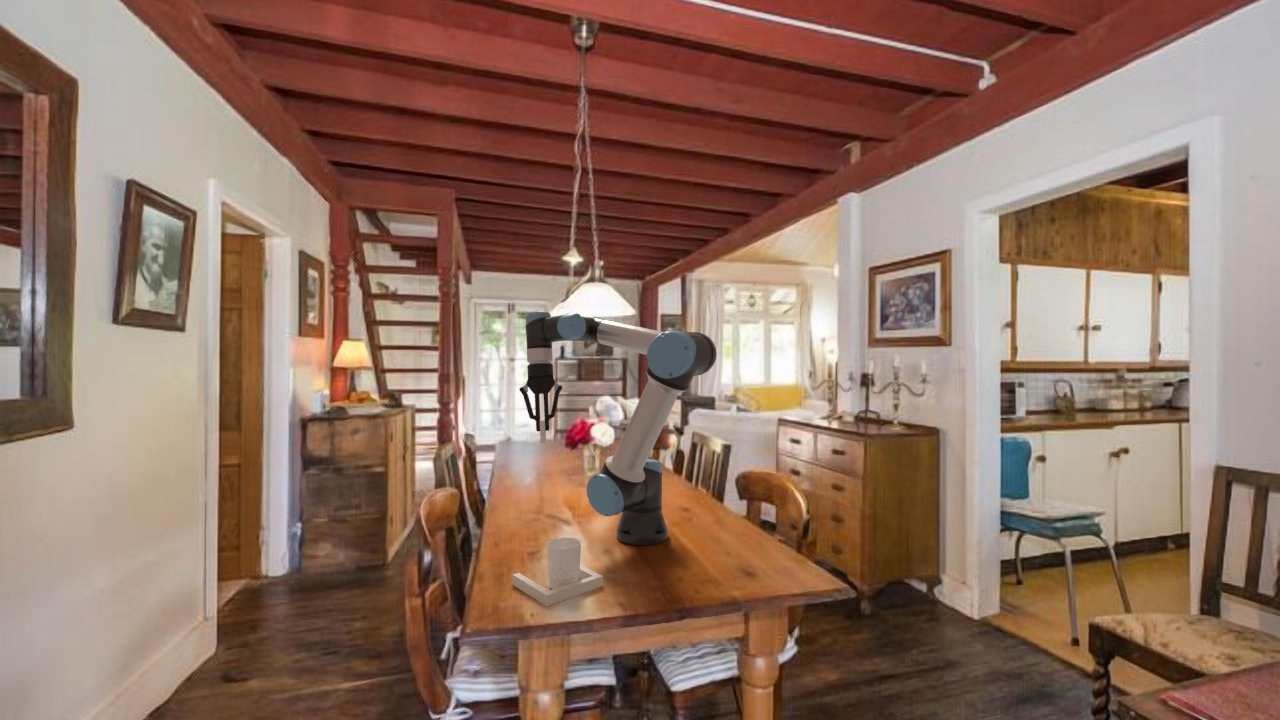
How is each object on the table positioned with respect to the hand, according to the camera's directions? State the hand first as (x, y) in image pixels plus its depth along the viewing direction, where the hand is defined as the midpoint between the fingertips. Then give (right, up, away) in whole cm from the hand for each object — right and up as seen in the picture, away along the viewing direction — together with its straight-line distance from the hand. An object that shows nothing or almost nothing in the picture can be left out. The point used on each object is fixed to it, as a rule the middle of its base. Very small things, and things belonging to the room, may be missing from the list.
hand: (543, 442), depth 162 cm
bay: (+9, -28, -35) cm, 46 cm away
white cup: (+11, -28, -35) cm, 46 cm away
